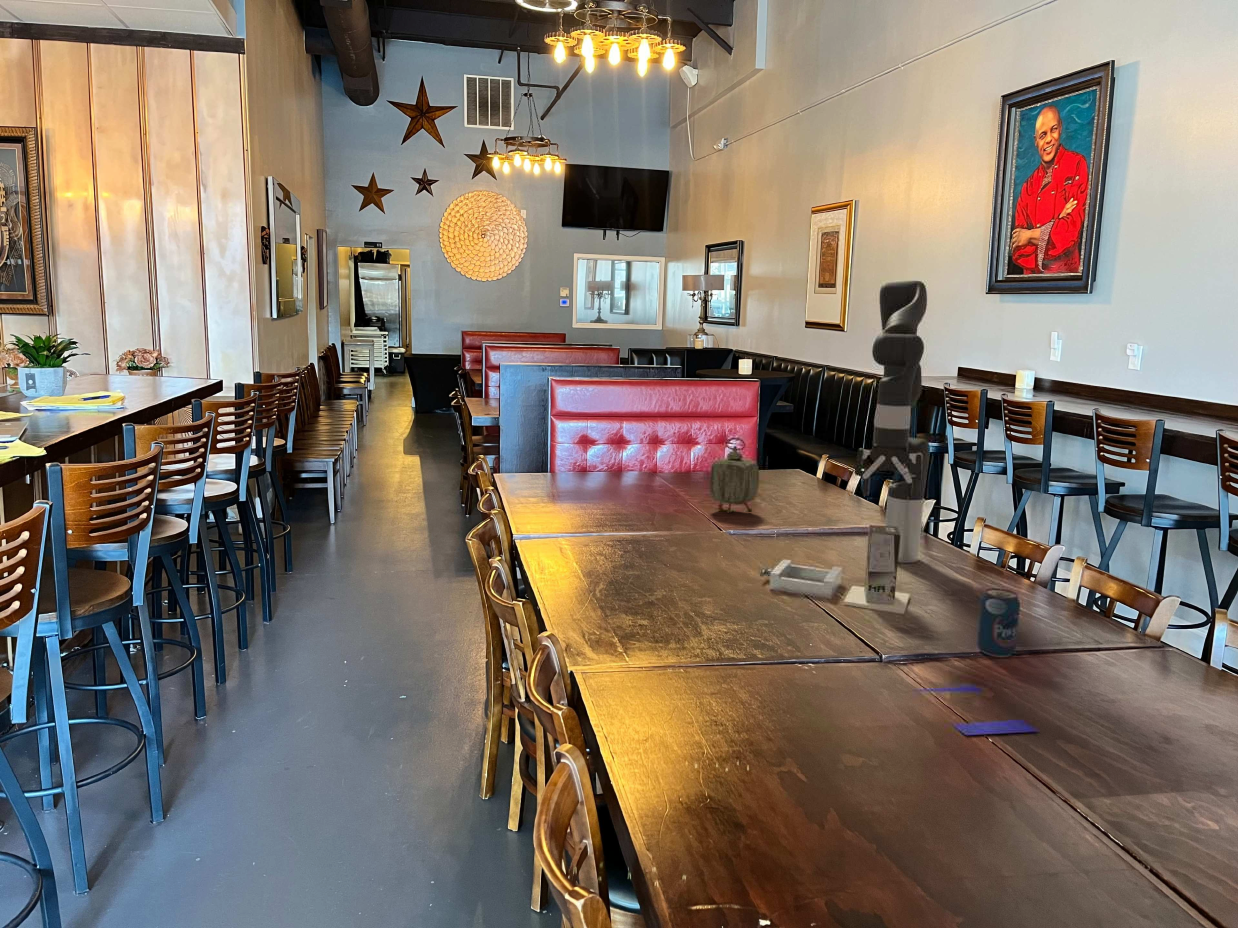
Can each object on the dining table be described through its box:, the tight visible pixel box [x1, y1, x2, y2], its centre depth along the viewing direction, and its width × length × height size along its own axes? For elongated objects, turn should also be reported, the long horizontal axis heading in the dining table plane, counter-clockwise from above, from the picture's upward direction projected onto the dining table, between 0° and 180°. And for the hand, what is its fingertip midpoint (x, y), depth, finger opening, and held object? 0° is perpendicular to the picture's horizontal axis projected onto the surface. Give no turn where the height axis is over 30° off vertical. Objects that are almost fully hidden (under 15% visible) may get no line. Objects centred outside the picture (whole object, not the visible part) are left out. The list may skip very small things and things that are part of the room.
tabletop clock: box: [709, 437, 760, 513], centre depth 282 cm, size 14×9×25 cm, turn 58°
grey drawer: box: [759, 559, 843, 599], centre depth 206 cm, size 13×18×4 cm
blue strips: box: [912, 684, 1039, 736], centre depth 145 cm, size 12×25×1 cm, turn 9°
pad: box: [843, 585, 911, 615], centre depth 196 cm, size 13×13×1 cm
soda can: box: [976, 587, 1021, 658], centre depth 166 cm, size 7×7×12 cm
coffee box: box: [863, 524, 901, 605], centre depth 194 cm, size 9×6×16 cm
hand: (886, 496), depth 192 cm, fingers open, 8 cm apart
